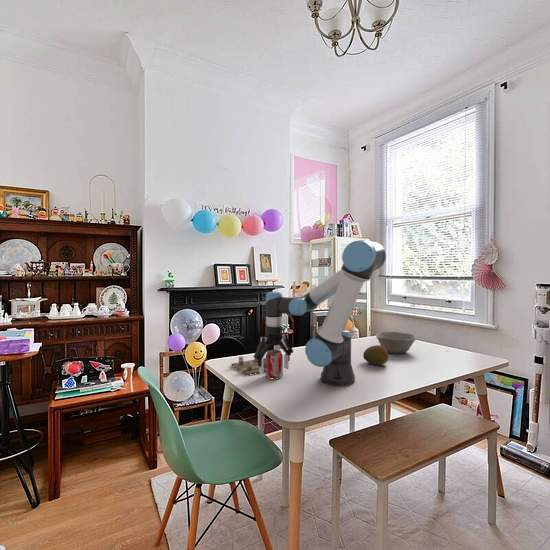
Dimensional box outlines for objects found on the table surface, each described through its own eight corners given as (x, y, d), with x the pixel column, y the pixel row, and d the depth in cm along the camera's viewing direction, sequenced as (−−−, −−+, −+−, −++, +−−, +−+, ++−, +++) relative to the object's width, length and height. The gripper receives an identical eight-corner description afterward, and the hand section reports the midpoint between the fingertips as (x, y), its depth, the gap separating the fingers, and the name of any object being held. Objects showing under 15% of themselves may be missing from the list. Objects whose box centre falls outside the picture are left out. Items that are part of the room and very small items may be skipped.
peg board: (276, 370, 163) (275, 359, 163) (247, 375, 154) (247, 364, 154) (258, 361, 178) (258, 351, 178) (231, 366, 169) (231, 356, 169)
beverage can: (286, 376, 153) (286, 351, 153) (274, 381, 147) (274, 354, 147) (273, 373, 158) (273, 348, 158) (262, 377, 152) (262, 351, 152)
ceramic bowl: (367, 349, 201) (367, 333, 200) (396, 345, 210) (396, 330, 210) (395, 359, 181) (395, 341, 180) (424, 354, 190) (425, 337, 190)
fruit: (388, 368, 164) (388, 349, 164) (362, 366, 168) (362, 347, 168) (388, 362, 175) (388, 343, 175) (363, 360, 179) (364, 342, 179)
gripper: (291, 321, 162) (291, 364, 162) (246, 326, 149) (246, 373, 149) (300, 324, 155) (300, 368, 156) (254, 329, 142) (254, 377, 143)
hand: (274, 370), depth 153 cm, fingers open, 13 cm apart
